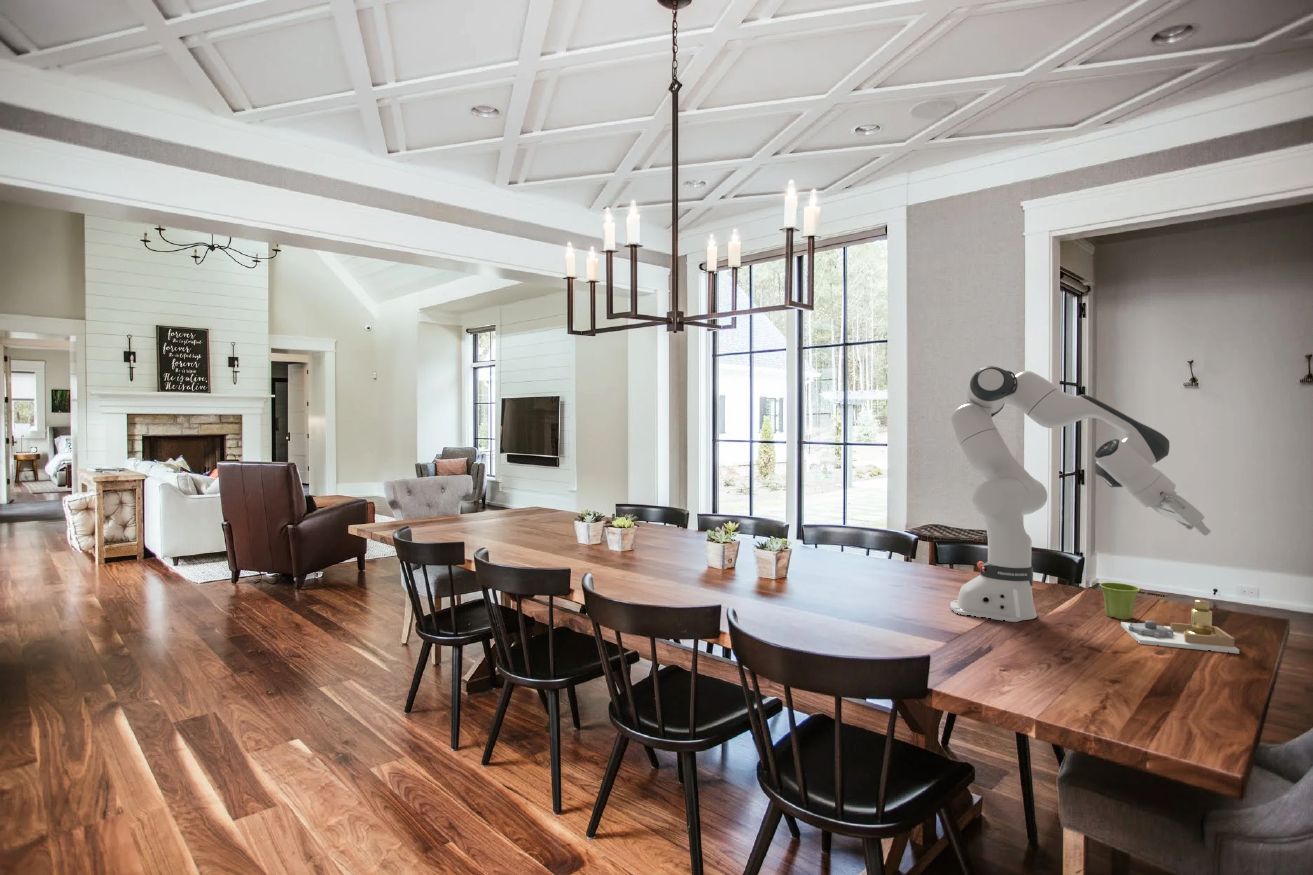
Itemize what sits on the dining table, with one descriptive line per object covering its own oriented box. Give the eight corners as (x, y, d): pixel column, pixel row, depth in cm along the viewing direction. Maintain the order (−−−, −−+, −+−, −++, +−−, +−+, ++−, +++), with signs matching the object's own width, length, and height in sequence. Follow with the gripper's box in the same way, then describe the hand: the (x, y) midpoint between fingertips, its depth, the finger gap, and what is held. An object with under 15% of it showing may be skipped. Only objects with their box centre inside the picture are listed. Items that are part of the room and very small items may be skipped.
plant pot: (1146, 622, 187) (1146, 591, 187) (1108, 620, 189) (1108, 589, 189) (1129, 613, 196) (1130, 583, 196) (1093, 611, 198) (1093, 581, 198)
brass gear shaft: (1188, 640, 169) (1189, 602, 168) (1179, 632, 175) (1180, 596, 174) (1223, 643, 166) (1224, 605, 166) (1212, 636, 172) (1213, 599, 172)
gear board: (1138, 643, 169) (1139, 628, 169) (1120, 625, 184) (1120, 611, 184) (1239, 653, 162) (1239, 637, 162) (1211, 633, 177) (1211, 619, 177)
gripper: (1181, 486, 167) (1229, 528, 164) (1151, 479, 186) (1193, 517, 183) (1159, 503, 168) (1206, 545, 165) (1131, 495, 187) (1173, 532, 184)
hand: (1199, 530), depth 174 cm, fingers open, 8 cm apart
